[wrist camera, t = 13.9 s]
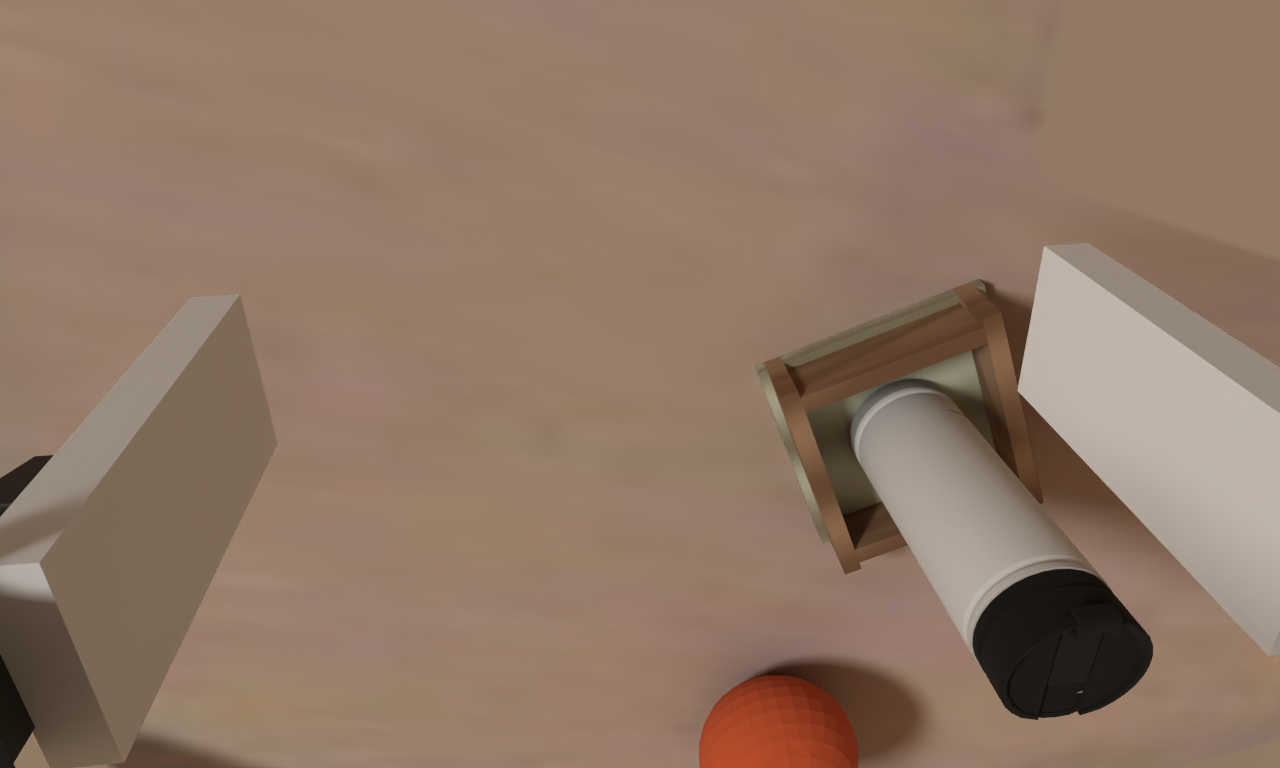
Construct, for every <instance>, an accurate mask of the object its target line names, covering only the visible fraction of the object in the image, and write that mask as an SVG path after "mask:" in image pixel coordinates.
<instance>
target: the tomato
mask: <svg viewBox="0 0 1280 768" xmlns="http://www.w3.org/2000/svg"><path fill="white" fill-rule="evenodd" d="M699 761H700V768H857V767H858V749H857V742H856V738H855V734H854V730H853V728H852V726H851V724H850V721H849V720H848V718H847V716H846V714H845V712H844V711H843V709H842V708H841V707H840V706H839V705H838V703H837V702H836V701H835V700H834V699H833V698H832V697H831V696H830V695H829V694H828V693H826V692H825V691H824V690H822V689H821V688H819V687H818V686H816V685H814V684H813V683H810V682H808V681H806V680H804V679H800V678H796V677H792V676H786V675H765V676H760V677H756V678H753V679H750V680H747V681H745V682H743V683H741V684H739V685H737V686H735V687H734V688H733V689H732V690H730V691H729V692H728V693H726V694H725V695H724V696H723V697H722V698H721V699H720V700H719V701H718V702H717V703H716V704H715V706H714V708H713V709H712V711H711V713H710V714H709V716H708V718H707V720H706V721H705V724H704V727H703V730H702V734H701V739H700V745H699Z"/></svg>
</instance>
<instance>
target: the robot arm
mask: <svg viewBox="0 0 1280 768" xmlns="http://www.w3.org/2000/svg"><path fill="white" fill-rule="evenodd" d="M1017 391H1018V392H1019V393H1020V394H1021V395H1022V396H1023V397H1024V398H1025V399H1026V400H1027V401H1028V402H1029V403H1030V404H1031V405H1032V407H1033V408H1034V409H1035V410H1036V411H1037V412H1038V413H1039V414H1040V415H1041V416H1042V417H1043V418H1044V419H1045V420H1046V421H1047V422H1048V423H1049V425H1050V426H1051V427H1052V428H1053V429H1054V430H1055V431H1056V432H1057V433H1058V434H1059V435H1060V436H1061V437H1062V438H1063V439H1064V440H1065V441H1066V443H1067V444H1068V445H1069V446H1070V447H1071V448H1072V449H1073V450H1074V451H1075V452H1076V453H1077V454H1078V455H1079V456H1080V457H1081V458H1082V459H1083V461H1084V462H1085V463H1086V464H1087V465H1088V466H1089V467H1090V468H1091V469H1092V470H1093V471H1094V472H1095V473H1096V474H1097V475H1098V476H1099V477H1100V479H1101V480H1102V481H1103V482H1104V483H1105V484H1106V485H1107V486H1108V487H1109V488H1110V489H1111V490H1112V491H1113V492H1114V493H1115V494H1116V495H1117V497H1118V498H1119V499H1120V500H1121V501H1122V502H1123V503H1124V504H1125V505H1126V506H1127V507H1128V508H1129V509H1130V510H1131V511H1132V512H1133V513H1134V515H1135V516H1136V517H1137V518H1138V519H1139V520H1140V521H1141V522H1142V523H1143V524H1144V525H1145V526H1146V527H1147V528H1148V529H1149V530H1150V531H1151V533H1152V534H1153V535H1154V536H1155V537H1156V538H1157V539H1158V540H1159V541H1160V542H1161V543H1162V544H1163V545H1164V546H1165V547H1166V548H1167V549H1168V551H1169V552H1170V553H1171V554H1172V555H1173V556H1174V557H1175V558H1176V559H1177V560H1178V561H1179V562H1180V563H1181V564H1182V565H1183V566H1184V567H1185V569H1186V570H1187V571H1188V572H1189V573H1190V574H1191V575H1192V576H1193V577H1194V578H1195V579H1196V580H1197V581H1198V582H1199V583H1200V584H1201V585H1202V586H1203V588H1204V589H1205V590H1206V591H1207V592H1208V593H1209V594H1210V595H1211V596H1212V597H1213V598H1214V599H1215V600H1216V601H1217V602H1218V603H1219V604H1220V606H1221V607H1222V608H1223V609H1224V610H1225V611H1226V612H1227V613H1228V614H1229V615H1230V616H1231V617H1232V618H1233V619H1234V620H1235V621H1236V622H1237V624H1238V625H1239V626H1240V627H1241V628H1242V629H1243V630H1244V631H1245V632H1246V633H1247V634H1248V635H1249V636H1250V637H1251V638H1252V639H1253V640H1254V642H1255V643H1256V644H1257V645H1258V646H1259V647H1260V648H1261V649H1262V650H1263V651H1264V652H1265V653H1266V654H1267V655H1268V656H1269V657H1270V656H1280V367H1278V366H1277V365H1275V364H1274V363H1272V362H1271V361H1269V360H1267V359H1266V358H1264V357H1263V356H1261V355H1260V354H1258V353H1257V352H1255V351H1254V350H1252V349H1251V348H1249V347H1247V346H1246V345H1244V344H1243V343H1241V342H1240V341H1238V340H1237V339H1235V338H1234V337H1232V336H1231V335H1229V334H1227V333H1226V332H1224V331H1223V330H1221V329H1220V328H1218V327H1217V326H1215V325H1214V324H1212V323H1211V322H1209V321H1207V320H1206V319H1204V318H1203V317H1201V316H1200V315H1198V314H1197V313H1195V312H1194V311H1192V310H1191V309H1189V308H1187V307H1186V306H1184V305H1183V304H1181V303H1180V302H1178V301H1177V300H1175V299H1174V298H1172V297H1171V296H1169V295H1167V294H1166V293H1164V292H1163V291H1161V290H1160V289H1158V288H1157V287H1155V286H1154V285H1152V284H1151V283H1149V282H1147V281H1146V280H1144V279H1143V278H1141V277H1140V276H1138V275H1137V274H1135V273H1134V272H1132V271H1131V270H1129V269H1127V268H1126V267H1124V266H1123V265H1121V264H1120V263H1118V262H1117V261H1115V260H1114V259H1112V258H1111V257H1109V256H1107V255H1106V254H1104V253H1103V252H1101V251H1100V250H1098V249H1097V248H1095V247H1094V246H1092V245H1091V244H1089V243H1083V244H1066V245H1049V246H1044V250H1043V256H1042V261H1041V266H1040V272H1039V277H1038V282H1037V288H1036V293H1035V299H1034V304H1033V309H1032V315H1031V320H1030V325H1029V331H1028V336H1027V342H1026V347H1025V352H1024V358H1023V363H1022V369H1021V374H1020V379H1019V385H1018V390H1017ZM276 445H277V439H276V435H275V431H274V427H273V423H272V419H271V415H270V411H269V407H268V403H267V399H266V395H265V392H264V388H263V384H262V380H261V376H260V372H259V368H258V364H257V360H256V356H255V352H254V348H253V344H252V340H251V336H250V332H249V328H248V324H247V320H246V316H245V312H244V308H243V304H242V300H241V296H240V295H224V296H207V297H191V298H189V300H188V301H187V302H186V303H185V304H184V305H183V307H182V308H181V309H180V310H179V311H178V312H177V313H176V315H175V316H174V317H173V318H172V319H171V320H170V322H169V323H168V324H167V325H166V326H165V327H164V328H163V330H162V331H161V332H160V333H159V334H158V335H157V337H156V338H155V339H154V340H153V341H152V342H151V343H150V345H149V346H148V347H147V348H146V349H145V350H144V352H143V353H142V354H141V355H140V356H139V357H138V358H137V360H136V361H135V362H134V363H133V364H132V365H131V367H130V368H129V369H128V370H127V371H126V372H125V374H124V375H123V376H122V377H121V378H120V379H119V380H118V382H117V383H116V384H115V385H114V386H113V387H112V389H111V390H110V391H109V392H108V393H107V394H106V395H105V397H104V398H103V399H102V400H101V401H100V402H99V404H98V405H97V406H96V407H95V408H94V409H93V410H92V412H91V413H90V414H89V415H88V416H87V417H86V419H85V420H84V421H83V422H82V423H81V424H80V425H79V427H78V428H77V429H76V430H75V431H74V432H73V434H72V435H71V436H70V437H69V438H68V439H67V441H66V442H65V443H64V444H63V445H62V446H61V447H60V449H59V450H58V451H57V452H56V453H55V454H54V455H49V456H35V457H33V458H32V459H30V460H28V461H27V462H25V463H24V464H22V465H21V466H19V467H17V468H16V469H14V470H13V471H11V472H9V473H8V474H6V475H5V476H3V477H2V478H0V768H15V766H14V764H13V763H14V761H15V760H16V758H17V756H18V755H19V753H20V751H21V750H22V748H23V746H24V745H25V743H26V741H27V740H28V738H29V736H30V735H31V733H32V732H33V733H34V735H35V737H36V739H37V741H38V743H39V746H40V747H41V750H42V752H43V754H44V756H45V758H46V760H47V762H48V764H49V766H50V768H72V767H82V766H93V765H104V764H115V763H124V761H125V759H126V757H127V755H128V753H129V751H130V749H131V747H132V745H133V743H134V741H135V739H136V736H137V734H138V732H139V730H140V728H141V726H142V724H143V722H144V720H145V718H146V716H147V714H148V712H149V709H150V707H151V705H152V703H153V701H154V699H155V697H156V695H157V693H158V691H159V689H160V687H161V684H162V682H163V680H164V678H165V676H166V674H167V672H168V670H169V668H170V666H171V664H172V662H173V660H174V657H175V655H176V653H177V651H178V649H179V647H180V645H181V643H182V641H183V639H184V637H185V635H186V632H187V630H188V628H189V626H190V624H191V622H192V620H193V618H194V616H195V614H196V612H197V610H198V607H199V605H200V603H201V601H202V599H203V597H204V595H205V593H206V591H207V589H208V587H209V585H210V583H211V580H212V578H213V576H214V574H215V572H216V570H217V568H218V566H219V564H220V562H221V560H222V558H223V555H224V553H225V551H226V549H227V547H228V545H229V543H230V541H231V539H232V537H233V535H234V533H235V531H236V528H237V526H238V524H239V522H240V520H241V518H242V516H243V514H244V512H245V510H246V508H247V506H248V503H249V501H250V499H251V497H252V495H253V493H254V491H255V489H256V487H257V485H258V483H259V481H260V479H261V476H262V474H263V472H264V470H265V468H266V466H267V464H268V462H269V460H270V458H271V456H272V454H273V451H274V449H275V447H276Z"/></svg>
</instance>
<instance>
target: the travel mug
mask: <svg viewBox="0 0 1280 768" xmlns="http://www.w3.org/2000/svg"><path fill="white" fill-rule="evenodd" d="M849 437H850V445H851V448H852V451H853V453H854V454H855V456H856V458H857V460H858V461H859V463H860V465H861V466H862V468H863V470H864V471H865V473H866V475H867V477H868V478H869V480H870V482H871V483H872V485H873V487H874V489H875V490H876V492H877V494H878V495H879V497H880V499H881V500H882V502H883V504H884V505H885V507H886V509H887V511H888V512H889V514H890V516H891V517H892V519H893V521H894V522H895V524H896V526H897V528H898V529H899V531H900V533H901V534H902V536H903V538H904V539H905V541H906V543H907V544H908V546H909V548H910V550H911V551H912V553H913V555H914V556H915V558H916V560H917V561H918V563H919V565H920V567H921V568H922V570H923V572H924V573H925V575H926V577H927V578H928V580H929V582H930V583H931V585H932V587H933V589H934V590H935V592H936V594H937V595H938V597H939V599H940V600H941V602H942V604H943V606H944V607H945V609H946V611H947V612H948V614H949V616H950V617H951V619H952V621H953V622H954V624H955V626H956V628H957V629H958V631H959V633H960V634H961V636H962V638H963V639H964V641H965V643H966V645H967V646H968V648H969V649H970V651H971V653H972V654H973V656H974V658H975V660H976V661H977V663H978V664H979V665H980V666H981V667H982V669H983V671H984V672H985V673H986V675H987V677H988V679H989V681H990V683H991V684H992V686H993V688H994V689H995V691H996V693H997V694H998V696H999V698H1000V699H1001V701H1002V703H1003V704H1004V706H1005V707H1006V708H1007V709H1008V710H1009V711H1010V712H1011V713H1013V714H1015V715H1016V716H1018V717H1020V718H1027V719H1035V720H1038V718H1039V717H1040V718H1046V717H1058V716H1064V715H1069V714H1071V713H1074V712H1076V711H1077V712H1078V713H1079V715H1082V714H1085V713H1089V712H1092V711H1095V710H1098V709H1101V708H1103V707H1104V706H1106V705H1108V704H1110V703H1112V702H1114V701H1115V700H1117V699H1118V698H1120V697H1121V696H1123V695H1124V694H1125V693H1127V692H1128V691H1129V690H1130V689H1131V688H1132V687H1134V686H1135V685H1136V684H1137V682H1138V681H1139V680H1140V679H1141V678H1142V677H1143V676H1144V674H1145V672H1146V671H1147V669H1148V667H1149V666H1150V662H1151V659H1152V656H1153V645H1152V642H1151V639H1150V637H1149V635H1148V634H1147V633H1146V632H1145V630H1144V629H1143V628H1142V627H1141V626H1140V624H1139V623H1138V622H1137V621H1136V620H1135V619H1134V617H1133V616H1132V615H1131V614H1130V613H1129V611H1128V610H1127V609H1126V608H1125V607H1124V605H1123V604H1122V603H1121V602H1120V601H1119V599H1118V598H1117V597H1116V596H1115V595H1114V594H1113V592H1112V591H1111V588H1110V587H1109V586H1108V584H1107V583H1106V582H1105V581H1104V579H1103V578H1102V577H1101V576H1100V575H1099V574H1098V573H1097V571H1096V570H1095V569H1094V568H1093V566H1092V565H1091V564H1090V563H1089V562H1088V561H1087V559H1086V558H1085V557H1084V556H1083V555H1082V553H1081V552H1080V551H1079V550H1078V549H1077V547H1076V546H1075V545H1074V544H1073V543H1072V542H1071V540H1070V539H1069V538H1068V537H1067V536H1066V534H1065V533H1064V532H1063V531H1062V530H1061V529H1060V527H1059V526H1058V525H1057V524H1056V523H1055V521H1054V520H1053V519H1052V518H1051V517H1050V516H1049V514H1048V513H1047V512H1046V511H1045V510H1044V508H1043V507H1042V506H1041V505H1040V504H1039V502H1038V501H1037V500H1036V499H1035V498H1034V497H1033V495H1032V494H1031V493H1030V492H1029V491H1028V489H1027V488H1026V487H1025V486H1024V485H1023V484H1022V482H1021V481H1020V480H1019V479H1018V478H1017V476H1016V475H1015V474H1014V473H1013V472H1012V471H1011V469H1010V468H1009V467H1008V466H1007V465H1006V463H1005V462H1004V461H1003V460H1002V459H1001V457H1000V456H999V455H998V454H997V453H996V452H995V450H994V449H993V448H992V447H991V446H990V444H989V443H988V442H987V441H986V440H985V439H984V437H983V436H982V435H981V434H980V433H979V431H978V430H977V429H976V428H975V427H974V425H973V424H972V423H971V422H970V421H969V420H968V418H967V417H966V416H965V415H964V414H963V412H962V411H961V410H960V409H959V408H958V407H957V405H956V404H955V403H954V402H953V401H952V399H951V398H950V397H949V396H948V395H947V394H946V392H945V391H944V390H942V389H941V388H940V387H938V386H937V385H935V384H932V383H930V382H927V381H922V380H903V381H897V382H894V383H891V384H888V385H886V386H884V387H882V388H880V389H878V390H877V391H875V392H874V393H873V394H871V395H870V396H869V397H868V398H867V399H866V400H865V401H864V402H863V403H862V404H861V406H860V407H859V409H858V410H857V412H856V413H855V415H854V418H853V420H852V422H851V427H850V432H849Z"/></svg>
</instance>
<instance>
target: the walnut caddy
mask: <svg viewBox="0 0 1280 768" xmlns="http://www.w3.org/2000/svg"><path fill="white" fill-rule="evenodd" d="M755 367H756V370H757V373H758V375H759V378H760V380H761V383H762V386H763V388H764V391H765V394H766V396H767V399H768V402H769V404H770V407H771V409H772V412H773V415H774V417H775V420H776V423H777V425H778V428H779V431H780V433H781V436H782V438H783V441H784V444H785V446H786V449H787V452H788V454H789V457H790V460H791V462H792V465H793V467H794V470H795V473H796V475H797V478H798V481H799V483H800V486H801V489H802V491H803V494H804V496H805V499H806V502H807V504H808V507H809V510H810V512H811V515H812V518H813V520H814V523H815V525H816V528H817V531H818V533H819V536H820V538H821V541H822V543H826V542H829V541H831V543H832V545H833V548H834V550H835V552H836V555H837V557H838V559H839V561H840V564H841V566H842V568H843V570H844V573H845V574H848V573H851V572H854V571H856V570H859V569H861V566H860V563H859V562H862V561H865V560H868V559H870V558H873V557H876V556H879V555H881V554H884V553H887V552H890V551H892V550H895V549H898V548H900V547H903V546H906V545H908V544H907V543H906V541H905V539H904V538H903V536H902V534H901V533H900V531H899V529H898V528H897V526H896V524H895V522H894V521H893V519H892V517H891V516H890V514H889V512H888V511H887V509H886V507H885V505H884V504H883V502H882V500H881V499H880V497H879V495H878V494H877V492H876V490H875V489H874V487H873V485H872V483H871V482H870V480H869V478H868V477H867V475H866V473H865V471H864V470H863V468H862V466H861V465H860V463H859V461H858V460H857V458H856V456H855V454H854V453H853V451H852V448H851V445H850V437H849V432H850V427H851V422H852V420H853V418H854V415H855V413H856V412H857V410H858V409H859V407H860V406H861V404H862V403H863V402H864V401H865V400H866V399H867V398H868V397H869V396H870V395H871V394H873V393H874V392H875V391H877V390H878V389H880V388H882V387H884V386H886V385H888V384H891V383H894V382H897V381H903V380H922V381H927V382H930V383H932V384H935V385H937V386H938V387H940V388H941V389H942V390H944V391H945V392H946V394H947V395H948V396H949V397H950V398H951V399H952V401H953V402H954V403H955V404H956V405H957V407H958V408H959V409H960V410H961V411H962V412H963V414H964V415H965V416H966V417H967V418H968V420H969V421H970V422H971V423H972V424H973V425H974V427H975V428H976V429H977V430H978V431H979V433H980V434H981V435H982V436H983V437H984V439H985V440H986V441H987V442H988V443H989V444H990V446H991V447H992V448H993V449H994V450H995V452H996V453H997V454H998V455H999V456H1000V457H1001V459H1002V460H1003V461H1004V462H1005V463H1006V465H1007V466H1008V467H1009V468H1010V469H1011V471H1012V472H1013V473H1014V474H1015V475H1016V476H1017V478H1018V479H1019V480H1020V481H1021V482H1022V484H1023V485H1024V486H1025V487H1026V488H1027V489H1028V491H1029V492H1030V493H1031V494H1032V495H1033V497H1034V498H1035V499H1036V500H1037V501H1038V502H1039V504H1041V503H1043V498H1042V494H1041V489H1040V485H1039V480H1038V475H1037V471H1036V466H1035V462H1034V457H1033V453H1032V448H1031V444H1030V439H1029V435H1028V430H1027V425H1026V421H1025V416H1024V412H1023V407H1022V403H1021V398H1020V394H1019V392H1018V391H1017V390H1018V385H1017V380H1016V375H1015V371H1014V366H1013V362H1012V357H1011V353H1010V348H1009V344H1008V339H1007V335H1006V330H1005V325H1004V321H1003V316H1002V312H1001V311H1000V310H999V309H998V308H997V307H996V306H995V305H994V304H992V303H991V302H990V301H989V300H988V297H987V293H986V288H985V284H983V283H982V282H981V281H980V280H979V279H978V280H975V281H973V282H970V283H968V284H965V285H962V286H960V287H957V288H955V289H952V290H950V291H947V292H945V293H942V294H939V295H937V296H934V297H932V298H929V299H927V300H924V301H921V302H919V303H916V304H914V305H911V306H909V307H906V308H904V309H901V310H898V311H896V312H893V313H891V314H888V315H886V316H883V317H881V318H878V319H875V320H873V321H870V322H868V323H865V324H863V325H860V326H858V327H855V328H852V329H850V330H847V331H845V332H842V333H840V334H837V335H834V336H832V337H829V338H827V339H824V340H822V341H819V342H817V343H814V344H811V345H809V346H806V347H804V348H801V349H799V350H796V351H794V352H791V353H788V354H786V355H783V356H781V357H778V358H776V359H773V360H771V361H768V362H765V363H763V364H760V365H758V366H755Z"/></svg>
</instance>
